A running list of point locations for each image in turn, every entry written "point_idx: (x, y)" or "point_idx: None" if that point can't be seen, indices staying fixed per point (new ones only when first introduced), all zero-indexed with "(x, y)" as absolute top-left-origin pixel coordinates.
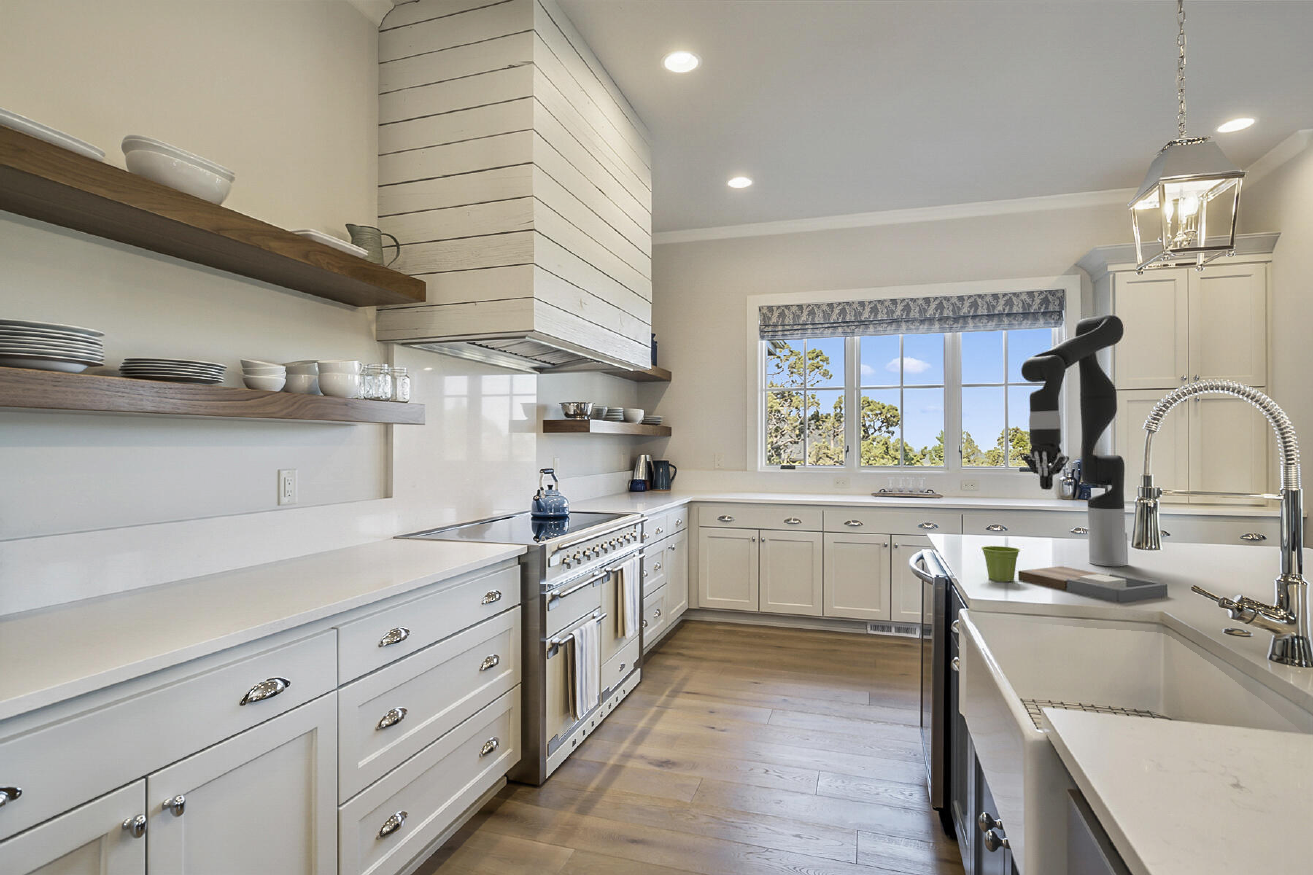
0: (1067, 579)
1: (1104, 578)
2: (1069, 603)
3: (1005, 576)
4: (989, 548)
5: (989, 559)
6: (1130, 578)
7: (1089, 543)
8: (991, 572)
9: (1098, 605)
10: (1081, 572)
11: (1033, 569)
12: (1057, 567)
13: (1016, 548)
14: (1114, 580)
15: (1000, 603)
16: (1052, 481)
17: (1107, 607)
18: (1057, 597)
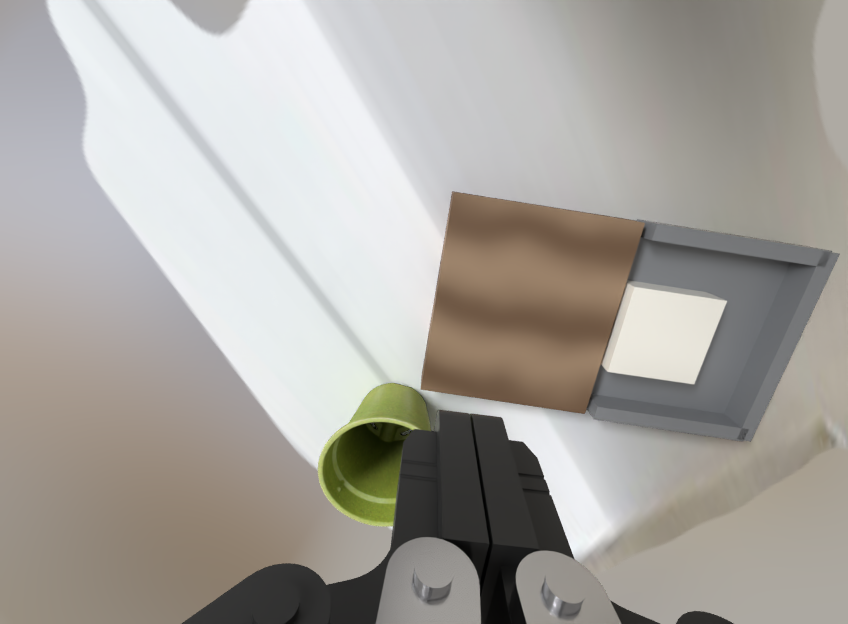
0: (595, 419)
1: (673, 340)
2: (642, 506)
3: None
4: (327, 456)
5: (378, 489)
6: (724, 251)
7: None
8: (386, 456)
9: (695, 476)
10: (557, 252)
11: (433, 331)
12: (458, 229)
13: (408, 427)
14: (706, 346)
15: None
16: (550, 502)
17: (716, 478)
18: (597, 476)
